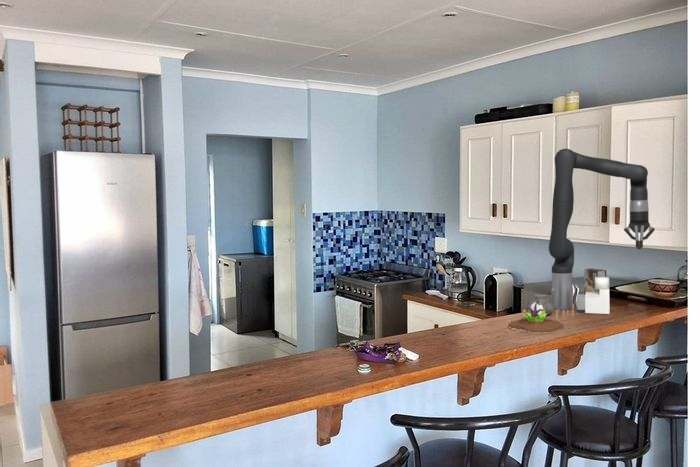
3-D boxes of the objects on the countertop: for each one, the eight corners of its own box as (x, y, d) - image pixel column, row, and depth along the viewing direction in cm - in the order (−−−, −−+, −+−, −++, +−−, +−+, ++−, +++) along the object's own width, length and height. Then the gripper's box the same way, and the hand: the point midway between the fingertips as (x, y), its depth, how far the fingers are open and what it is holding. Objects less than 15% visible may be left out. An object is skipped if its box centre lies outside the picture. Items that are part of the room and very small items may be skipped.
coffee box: (607, 302, 282) (607, 270, 281) (598, 303, 280) (597, 271, 279) (592, 299, 291) (592, 268, 290) (583, 300, 288) (583, 269, 287)
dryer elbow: (585, 312, 259) (584, 278, 258) (586, 309, 267) (585, 275, 266) (609, 314, 255) (609, 279, 254) (609, 310, 263) (609, 276, 262)
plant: (572, 329, 233) (571, 302, 233) (539, 337, 223) (539, 308, 222) (533, 321, 250) (532, 295, 250) (501, 328, 240) (500, 301, 240)
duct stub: (577, 312, 262) (577, 296, 261) (577, 310, 267) (577, 294, 267) (598, 313, 258) (598, 297, 258) (598, 311, 263) (598, 294, 263)
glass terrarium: (544, 319, 250) (543, 295, 251) (527, 318, 256) (526, 295, 257) (557, 317, 258) (556, 294, 259) (541, 316, 264) (540, 294, 265)
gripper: (622, 211, 255) (622, 249, 256) (656, 210, 249) (656, 249, 250) (622, 210, 261) (623, 248, 263) (655, 209, 256) (655, 248, 257)
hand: (639, 248), depth 256 cm, fingers closed
